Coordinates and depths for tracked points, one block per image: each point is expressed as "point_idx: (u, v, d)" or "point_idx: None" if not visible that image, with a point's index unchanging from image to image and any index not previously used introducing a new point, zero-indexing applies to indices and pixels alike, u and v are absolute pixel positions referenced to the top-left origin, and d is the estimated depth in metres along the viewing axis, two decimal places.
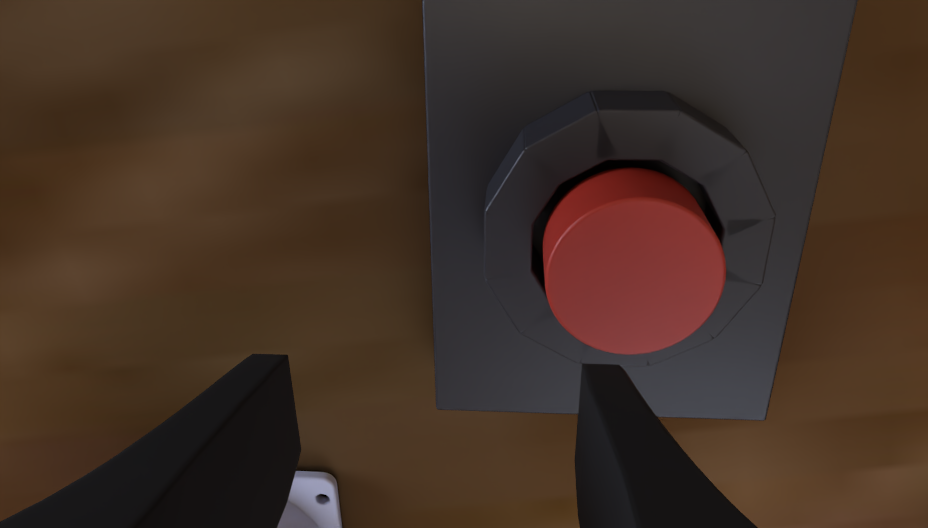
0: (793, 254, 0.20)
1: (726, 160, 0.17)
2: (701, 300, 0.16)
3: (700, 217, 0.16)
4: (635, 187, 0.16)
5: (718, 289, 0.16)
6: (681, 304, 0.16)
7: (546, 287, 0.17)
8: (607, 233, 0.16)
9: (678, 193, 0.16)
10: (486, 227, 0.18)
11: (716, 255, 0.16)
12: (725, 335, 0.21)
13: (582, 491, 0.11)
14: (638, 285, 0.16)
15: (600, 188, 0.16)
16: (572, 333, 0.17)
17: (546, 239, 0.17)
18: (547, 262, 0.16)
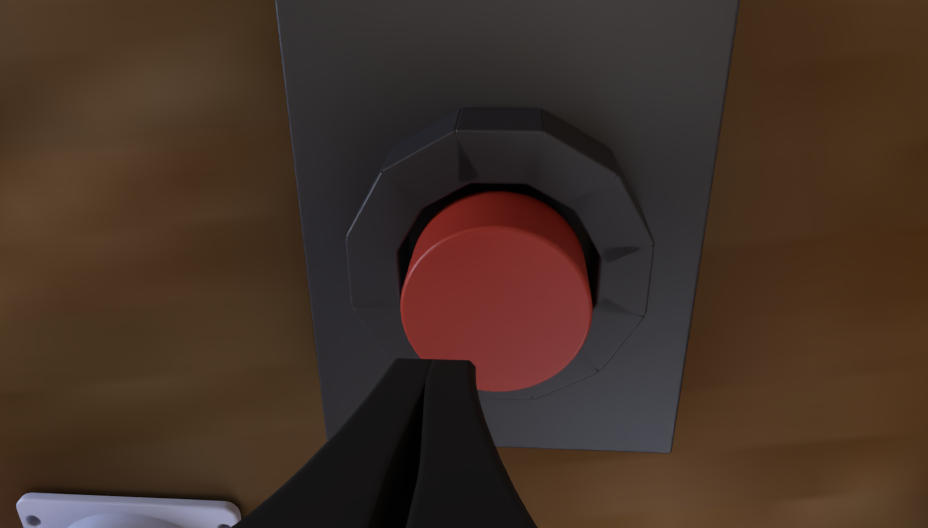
0: (688, 280, 0.18)
1: (597, 184, 0.15)
2: (568, 335, 0.15)
3: (559, 247, 0.14)
4: (493, 214, 0.15)
5: (585, 323, 0.15)
6: (547, 339, 0.15)
7: (402, 320, 0.15)
8: (461, 264, 0.15)
9: (541, 220, 0.15)
10: (348, 254, 0.17)
11: (580, 288, 0.15)
12: (622, 365, 0.20)
13: None
14: (500, 319, 0.15)
15: (459, 214, 0.15)
16: None
17: None
18: (401, 294, 0.15)
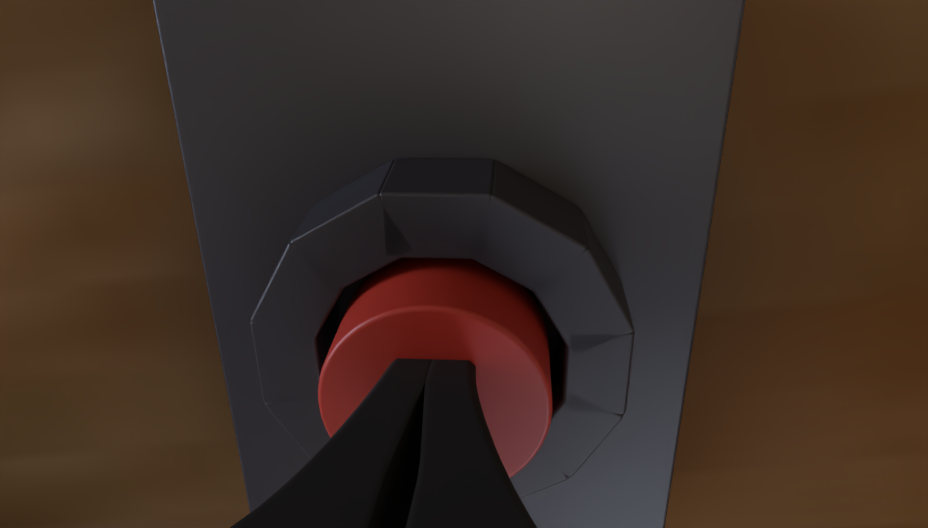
0: (678, 362, 0.15)
1: (560, 259, 0.12)
2: (523, 433, 0.12)
3: (509, 331, 0.12)
4: (429, 287, 0.12)
5: (543, 420, 0.12)
6: (498, 438, 0.12)
7: (321, 415, 0.13)
8: (389, 350, 0.12)
9: (489, 294, 0.12)
10: (255, 340, 0.13)
11: (535, 379, 0.12)
12: (601, 457, 0.16)
13: None
14: None
15: (389, 285, 0.12)
16: None
17: None
18: (318, 384, 0.12)
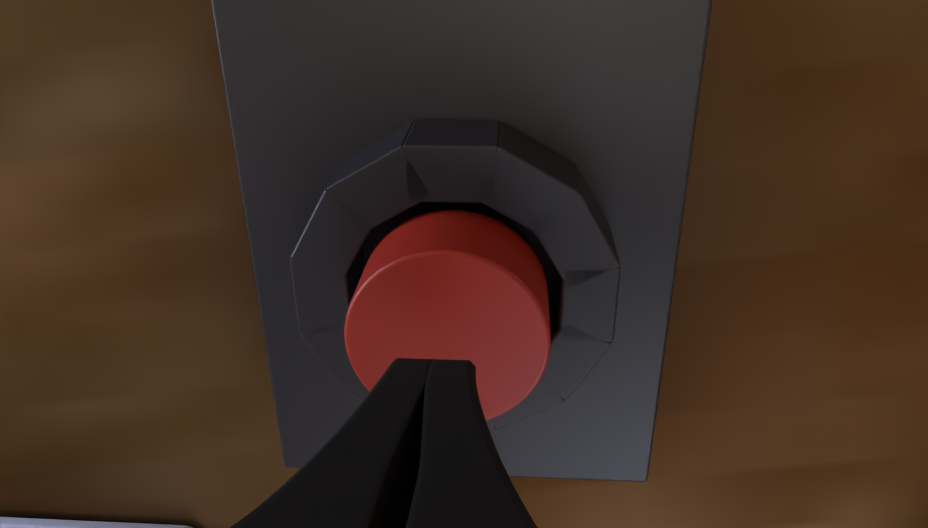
0: (661, 302, 0.17)
1: (556, 203, 0.14)
2: (525, 366, 0.14)
3: (513, 273, 0.13)
4: (442, 236, 0.14)
5: (543, 354, 0.14)
6: (502, 371, 0.14)
7: (347, 350, 0.14)
8: (407, 290, 0.14)
9: (495, 243, 0.14)
10: (294, 276, 0.15)
11: (535, 317, 0.14)
12: (593, 390, 0.18)
13: None
14: (451, 350, 0.14)
15: (408, 236, 0.14)
16: None
17: None
18: (345, 322, 0.14)
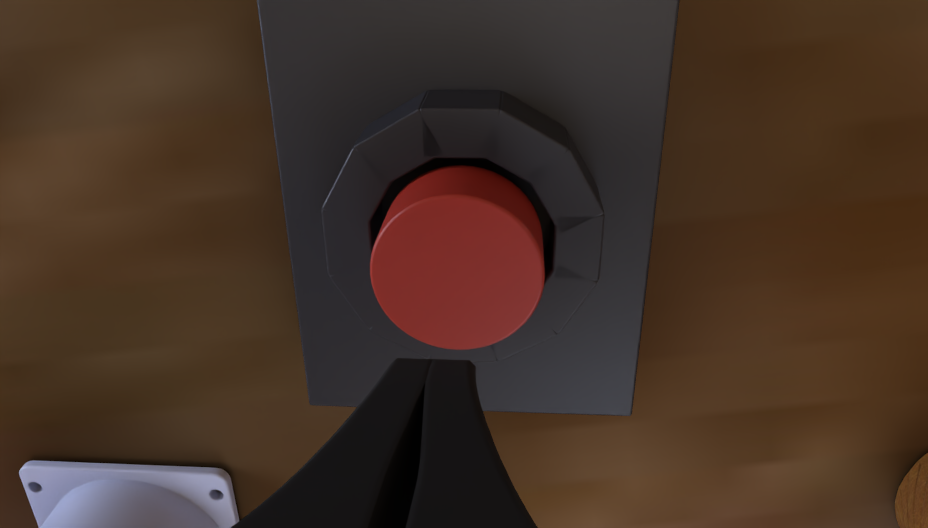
0: (641, 251, 0.20)
1: (550, 158, 0.17)
2: (523, 296, 0.17)
3: (513, 214, 0.16)
4: (453, 184, 0.16)
5: (538, 285, 0.17)
6: (504, 300, 0.17)
7: (372, 283, 0.17)
8: (424, 229, 0.16)
9: (498, 190, 0.16)
10: (324, 224, 0.18)
11: (532, 252, 0.16)
12: (583, 331, 0.21)
13: None
14: (460, 281, 0.17)
15: (423, 185, 0.17)
16: (402, 328, 0.17)
17: None
18: None
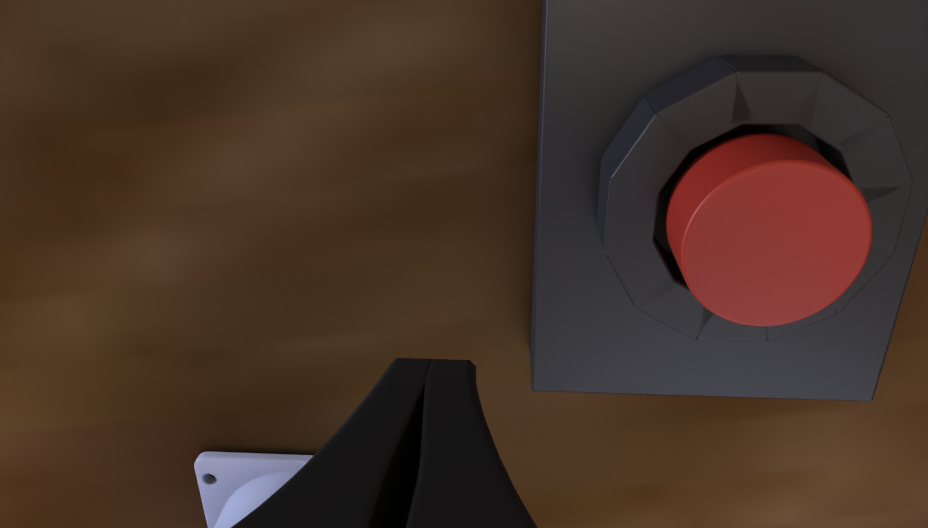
0: (914, 227, 0.19)
1: (867, 124, 0.16)
2: (843, 268, 0.16)
3: (850, 180, 0.15)
4: (778, 150, 0.15)
5: (862, 257, 0.16)
6: (822, 273, 0.16)
7: (682, 255, 0.16)
8: (752, 197, 0.15)
9: (821, 157, 0.16)
10: (610, 196, 0.17)
11: (864, 221, 0.15)
12: (837, 312, 0.20)
13: None
14: (779, 253, 0.16)
15: (738, 152, 0.16)
16: (705, 304, 0.16)
17: (675, 207, 0.17)
18: (684, 229, 0.16)
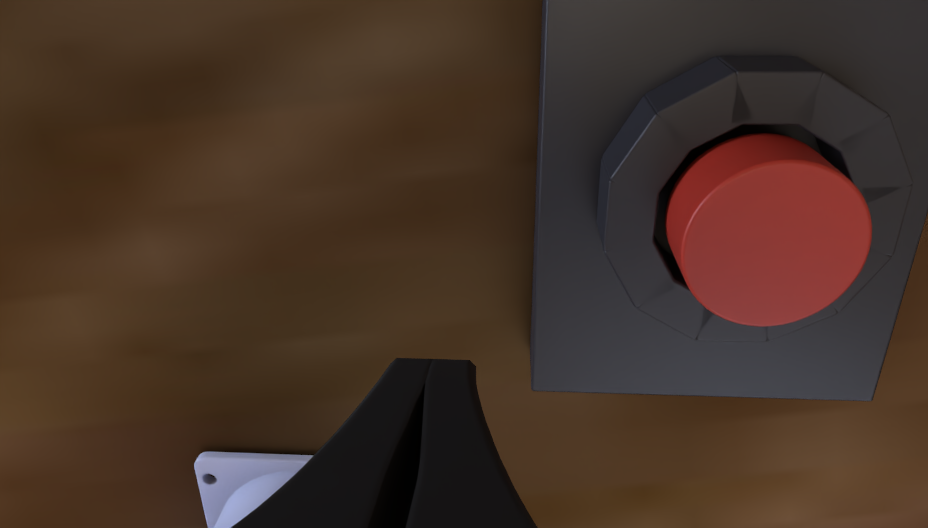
0: (914, 227, 0.19)
1: (867, 124, 0.16)
2: (843, 268, 0.16)
3: (850, 180, 0.15)
4: (778, 150, 0.15)
5: (862, 257, 0.16)
6: (822, 273, 0.16)
7: (682, 255, 0.16)
8: (752, 197, 0.15)
9: (821, 157, 0.16)
10: (610, 196, 0.17)
11: (864, 221, 0.15)
12: (837, 312, 0.20)
13: None
14: (779, 253, 0.16)
15: (738, 152, 0.16)
16: (705, 304, 0.16)
17: (675, 207, 0.17)
18: (684, 229, 0.16)
